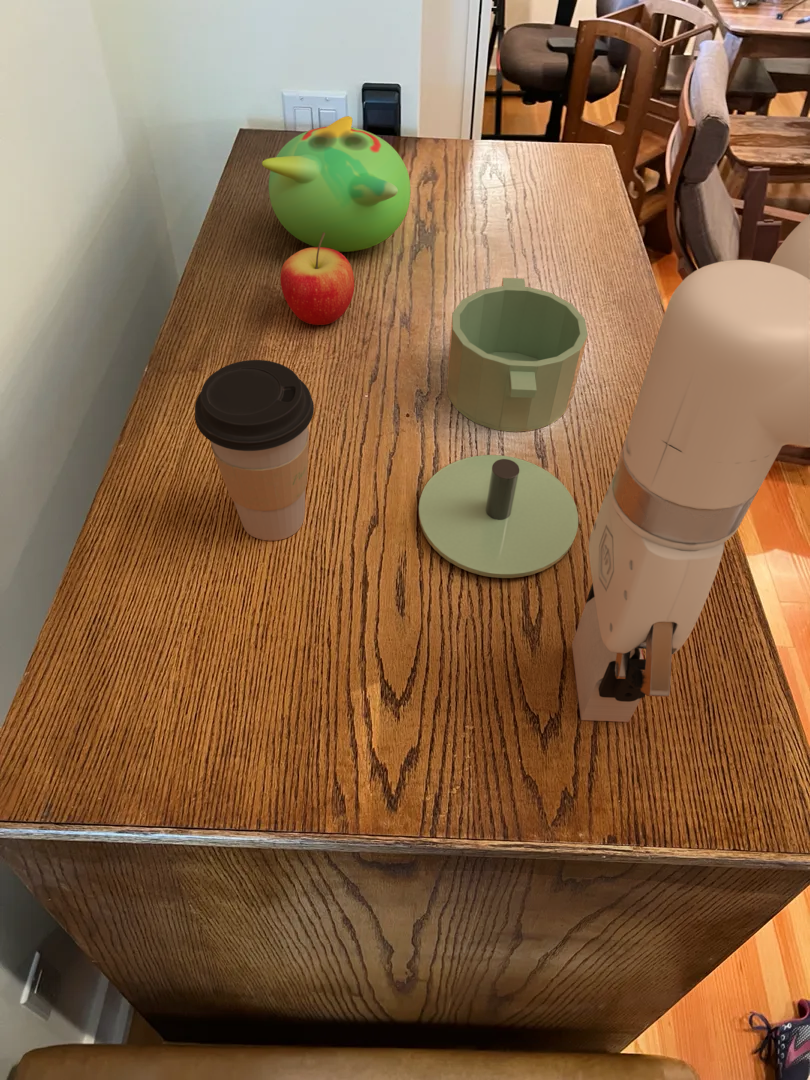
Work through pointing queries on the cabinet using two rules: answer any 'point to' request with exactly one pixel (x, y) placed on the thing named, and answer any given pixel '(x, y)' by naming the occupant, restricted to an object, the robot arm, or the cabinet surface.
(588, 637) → the tea bag
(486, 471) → the lid
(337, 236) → the toy bird
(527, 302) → the pot
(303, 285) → the apple
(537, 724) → the cabinet surface
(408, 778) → the cabinet surface
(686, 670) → the cabinet surface
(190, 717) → the cabinet surface
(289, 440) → the coffee cup
